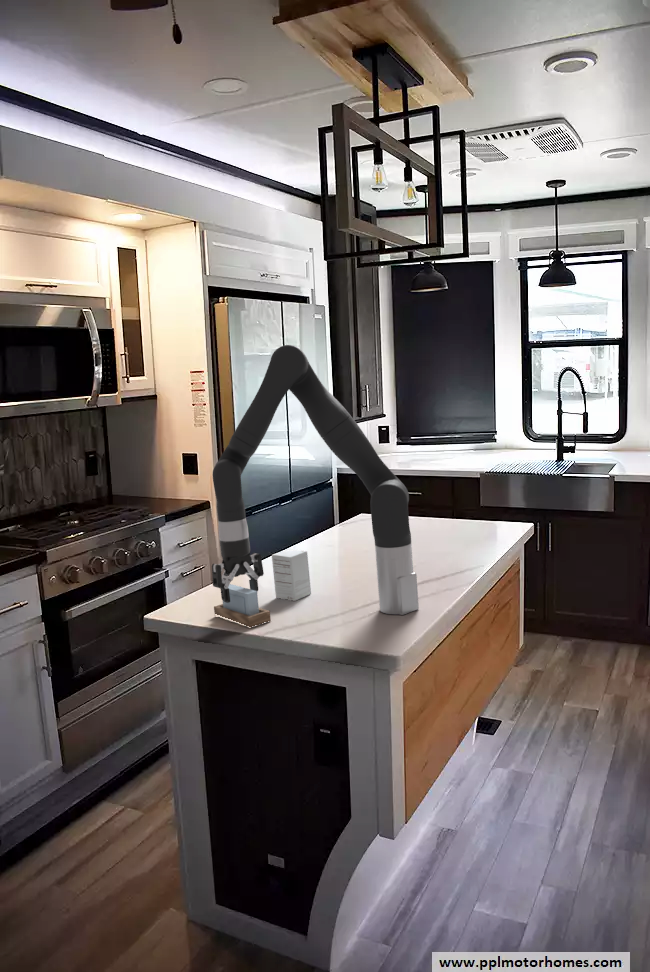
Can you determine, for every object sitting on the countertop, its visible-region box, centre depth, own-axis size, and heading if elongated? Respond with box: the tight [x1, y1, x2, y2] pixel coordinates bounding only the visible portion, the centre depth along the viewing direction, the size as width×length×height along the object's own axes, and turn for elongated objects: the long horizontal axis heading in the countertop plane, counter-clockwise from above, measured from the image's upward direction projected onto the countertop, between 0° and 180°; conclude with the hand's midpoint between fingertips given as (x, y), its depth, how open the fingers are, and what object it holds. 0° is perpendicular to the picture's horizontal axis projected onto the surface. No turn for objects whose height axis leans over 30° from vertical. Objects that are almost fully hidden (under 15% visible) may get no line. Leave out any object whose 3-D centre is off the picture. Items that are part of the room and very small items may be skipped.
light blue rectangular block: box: [222, 583, 260, 616], centre depth 208 cm, size 12×3×7 cm, turn 41°
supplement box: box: [271, 548, 312, 602], centre depth 224 cm, size 7×7×13 cm
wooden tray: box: [213, 603, 272, 627], centre depth 208 cm, size 16×6×3 cm, turn 41°
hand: (240, 597), depth 207 cm, fingers open, 8 cm apart
